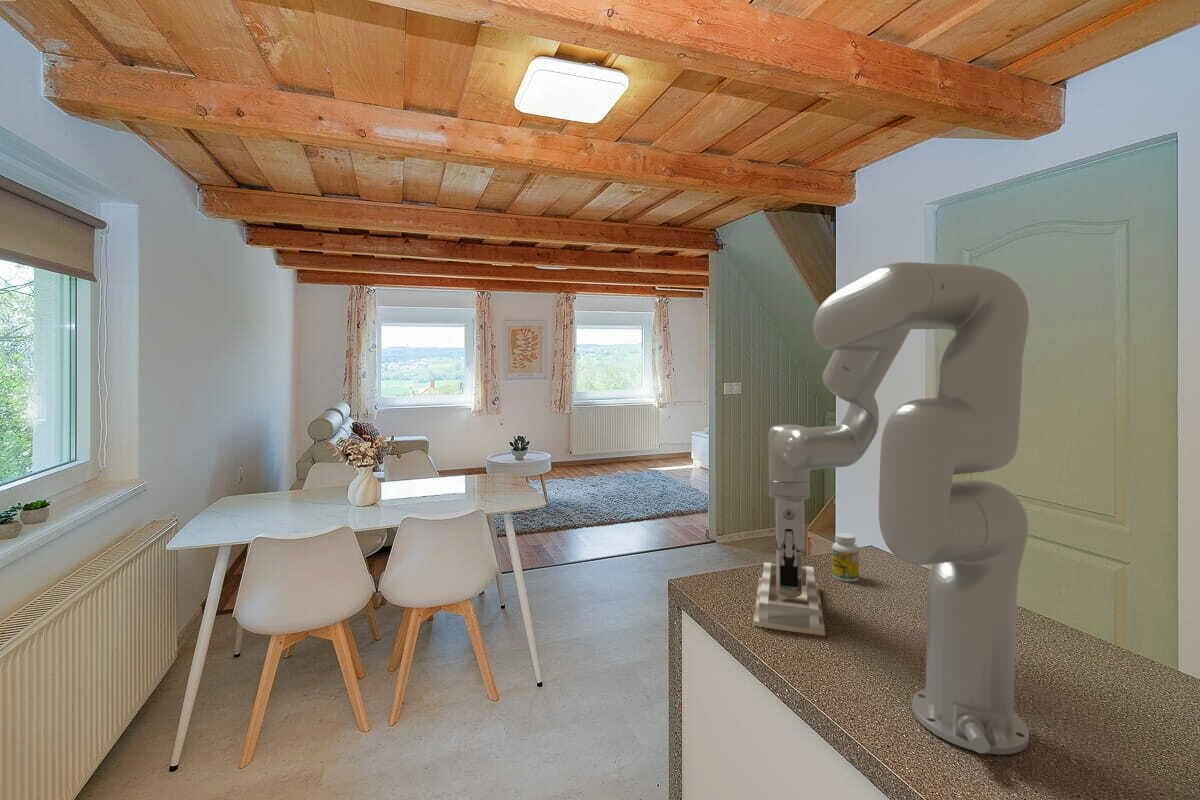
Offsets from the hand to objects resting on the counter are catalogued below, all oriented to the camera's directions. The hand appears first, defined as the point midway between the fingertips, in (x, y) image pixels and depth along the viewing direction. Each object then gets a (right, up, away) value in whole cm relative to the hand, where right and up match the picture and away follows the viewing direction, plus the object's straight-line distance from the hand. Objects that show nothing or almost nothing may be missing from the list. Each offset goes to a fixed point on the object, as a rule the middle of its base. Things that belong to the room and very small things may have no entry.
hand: (788, 579), depth 107 cm
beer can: (0, -3, 0) cm, 3 cm away
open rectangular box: (0, -5, 0) cm, 5 cm away
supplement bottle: (+18, -5, +14) cm, 23 cm away
